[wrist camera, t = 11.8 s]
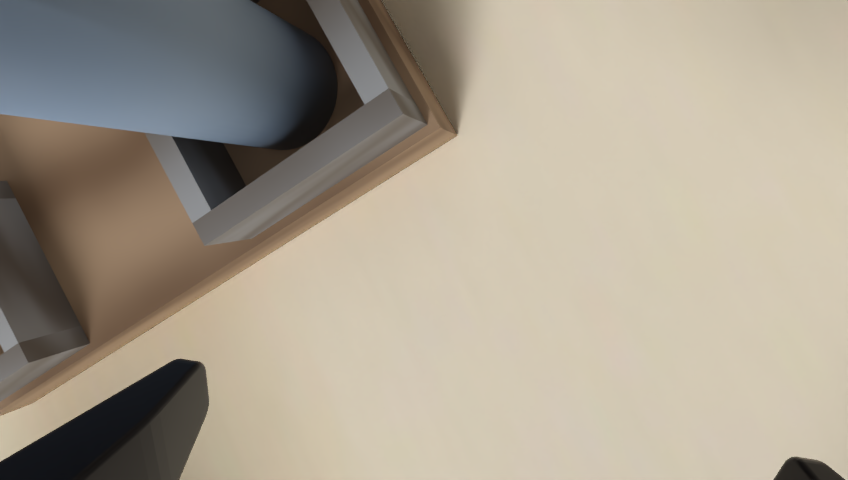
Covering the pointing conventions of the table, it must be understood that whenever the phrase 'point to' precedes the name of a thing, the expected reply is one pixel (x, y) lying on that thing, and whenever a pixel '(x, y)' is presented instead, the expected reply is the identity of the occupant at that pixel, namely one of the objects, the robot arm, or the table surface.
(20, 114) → the stool leg
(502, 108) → the table surface
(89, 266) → the four-cup wooden tray
